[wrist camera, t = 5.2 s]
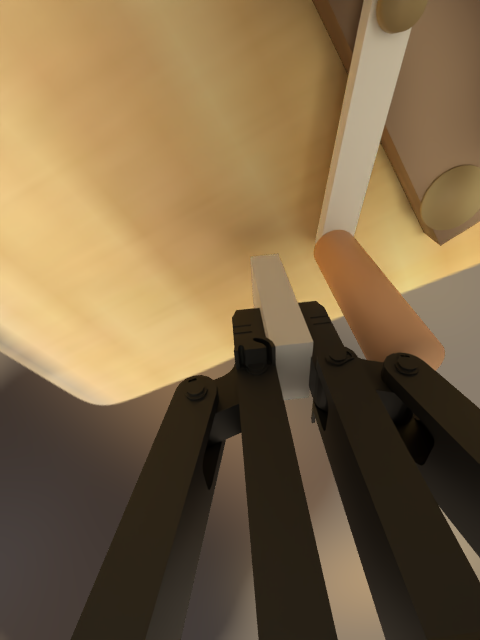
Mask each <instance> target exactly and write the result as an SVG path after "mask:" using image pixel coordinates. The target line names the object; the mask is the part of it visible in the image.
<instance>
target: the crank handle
mask: <svg viewBox="0 0 480 640" xmlns="http://www.w3.org/2000/svg"><path fill="white" fill-rule="evenodd" d="M377 2H378V0H364V1H363V6H362V11H361V16H360V21H359V26H358V31H357V36H356V41H355V46H354V51H353V56H352V61H351V66H350V71H349V76H348V81H347V86H346V90H345V95H344V100H343V105H342V110H341V115H340V120H339V125H338V130H337V135H336V140H335V145H334V150H333V155H332V160H331V165H330V170H329V175H328V180H327V185H326V190H325V195H324V200H323V205H322V210H321V215H320V220H319V225H318V230H317V235H316V240H315V243H316V245H315V248H314V258H315V260H316V262H317V264H318V266H319V268H320V270H321V272H322V274H323V276H324V278H325V280H326V282H327V284H328V285H329V287H330V289H331V291H332V293H333V295H334V297H335V299H336V301H337V303H338V305H339V307H340V309H341V311H342V313H343V315H344V317H345V318H346V320H347V322H348V324H349V326H350V328H351V330H352V332H353V334H354V336H355V338H356V340H357V342H358V344H359V345H360V347H361V349H362V351H363V353H364V355H365V357H366V359H367V360H369V361H377V362H384V360H385V359H386V357H387V356H389V355H390V354H392V353H399V352H401V353H409V354H412V355H414V356H417V357H419V358H420V359H422V360H423V361H425V362H426V363H427V364H428V365H429V366H430V367H432V368H433V369H434V370H435V371H436V370H437V369H438V368H439V366H440V365H441V364H442V362H443V360H444V356H445V350H444V347H443V346H442V345H441V343H440V342H439V341H438V340H437V338H436V337H435V336H434V335H433V333H432V332H431V331H430V330H429V329H428V327H427V326H426V325H425V324H424V322H423V321H422V320H421V319H420V317H419V316H418V315H417V314H416V313H415V311H414V310H413V309H412V308H411V306H410V305H409V304H408V303H407V302H406V300H405V299H404V298H403V297H402V296H401V294H400V293H399V292H398V291H397V289H396V288H395V287H394V286H393V284H392V283H391V282H390V281H389V279H388V278H387V277H386V276H385V275H384V273H383V272H382V271H381V270H380V268H379V267H378V266H377V265H376V264H375V262H374V261H373V260H372V259H371V257H370V256H369V255H368V254H367V253H366V251H365V250H364V249H363V248H362V246H361V245H360V244H359V243H358V242H357V240H356V239H355V238H354V234H355V230H356V226H357V223H358V219H359V216H360V212H361V208H362V205H363V201H364V198H365V194H366V190H367V187H368V183H369V180H370V176H371V172H372V169H373V165H374V162H375V158H376V154H377V151H378V147H379V144H380V140H381V136H382V133H383V129H384V126H385V122H386V118H387V115H388V111H389V108H390V104H391V100H392V97H393V93H394V90H395V86H396V82H397V79H398V75H399V72H400V68H401V64H402V61H403V57H404V54H405V50H406V46H407V43H408V39H409V36H410V32H411V28H412V27H411V28H410V29H408V30H406V31H403V32H399V33H393V34H390V33H386V32H384V31H383V30H382V29H381V28H380V26H379V24H378V22H377V17H376V7H377Z"/></svg>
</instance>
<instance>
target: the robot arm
mask: <svg viewBox="0 0 480 640" xmlns="http://www.w3.org/2000/svg"><path fill="white" fill-rule="evenodd" d="M250 258H251V273H252V289H253V304H254V309H244V310H236V312H235V314H234V315H233V317H232V324H233V335H234V346H235V348H234V355H235V365H234V367H233V369H232V370H231V371H230V372H229V373H228V374H226V375H225V376H223V377H220V378H218V379H215V380H212V379H211V378H209V377H207V376H203V375H198V376H192V377H189V378H187V379H185V380H184V381H182V382H181V383H180V384H179V386H178V387H177V389H176V391H175V393H174V395H173V398H172V400H171V402H170V405H169V407H168V410H167V412H166V414H165V417H164V419H163V421H162V424H161V426H160V429H159V431H158V433H157V436H156V438H155V440H154V443H153V445H152V448H151V450H150V453H149V455H148V457H147V460H146V462H145V464H144V467H143V469H142V472H141V474H140V476H139V478H138V481H137V483H136V486H135V488H134V490H133V493H132V495H131V497H130V500H129V502H128V505H127V507H126V509H125V512H124V514H123V517H122V519H121V521H120V524H119V526H118V528H117V531H116V533H115V536H114V538H113V541H112V543H111V545H110V548H109V550H108V552H107V555H106V557H105V560H104V562H103V564H102V566H101V569H100V571H99V574H98V576H97V578H96V581H95V583H94V585H93V588H92V590H91V593H90V595H89V597H88V600H87V602H86V604H85V607H84V609H83V612H82V614H81V616H80V619H79V621H78V623H77V626H76V628H75V631H74V633H73V636H72V638H71V640H181V636H182V631H183V627H184V623H185V618H186V613H187V609H188V605H189V600H190V596H191V591H192V587H193V583H194V578H195V574H196V569H197V565H198V561H199V556H200V552H201V547H202V543H203V538H204V534H205V530H206V525H207V521H208V516H209V512H210V507H211V503H212V499H213V494H214V489H215V486H216V481H217V477H218V472H219V468H220V463H221V459H222V455H223V450H224V445H225V441H226V439H228V438H230V437H232V436H234V435H237V434H239V433H242V445H243V456H244V469H245V481H246V493H247V505H248V517H249V529H250V541H251V553H252V565H253V576H254V589H255V600H256V613H257V624H258V637H259V640H338V639H337V634H336V630H335V625H334V621H333V617H332V612H331V608H330V603H329V599H328V594H327V590H326V586H325V581H324V577H323V573H322V568H321V563H320V559H319V554H318V550H317V546H316V541H315V537H314V532H313V528H312V524H311V519H310V514H309V510H308V506H307V502H306V497H305V492H304V488H303V484H302V479H301V475H300V470H299V466H298V461H297V457H296V453H295V448H294V443H293V439H292V435H291V430H290V426H289V422H288V417H287V412H286V408H285V404H284V400H290V399H299V398H308V397H309V390H310V391H311V394H312V397H313V406H312V417H311V419H312V423H314V422H315V418H316V421H317V424H318V427H319V431H320V434H321V437H322V440H323V443H324V446H325V450H326V453H327V456H328V459H329V462H330V465H331V469H332V471H333V475H334V478H335V481H336V484H337V487H338V490H339V494H340V497H341V500H342V503H343V506H344V510H345V512H346V516H347V519H348V522H349V525H350V529H351V532H352V535H353V538H354V541H355V544H356V547H357V551H358V554H359V557H360V560H361V563H362V566H363V570H364V572H365V576H366V579H367V582H368V585H369V588H370V592H371V595H372V598H373V601H374V604H375V607H376V611H377V614H378V617H379V620H380V623H381V626H382V629H383V632H384V636H385V639H386V640H480V582H479V580H478V578H477V576H476V574H475V572H474V571H473V569H472V567H471V565H470V563H469V561H468V559H467V558H466V556H465V554H464V552H463V550H462V548H461V547H460V545H459V543H458V541H457V539H456V537H455V535H454V534H453V532H452V530H451V528H450V526H449V524H448V523H447V521H446V519H445V517H444V515H443V514H442V512H441V510H440V508H441V509H442V510H443V512H444V513H445V514H446V515H447V517H448V518H449V519H450V521H451V522H452V523H453V524H454V526H455V527H456V528H457V529H458V531H459V532H460V533H461V534H462V536H463V537H464V538H465V540H466V541H467V542H468V543H469V545H470V546H471V547H472V548H473V550H474V551H475V552H476V553H477V555H478V556H479V557H480V409H479V408H478V407H477V406H476V405H475V404H474V403H472V402H471V401H470V400H469V399H468V398H467V397H465V396H464V395H463V394H462V393H461V392H460V391H458V390H457V389H456V388H455V387H454V386H453V385H451V384H450V383H449V382H448V381H447V380H446V379H444V378H443V377H442V376H441V375H440V374H439V373H437V372H436V371H435V370H434V369H433V368H432V367H430V366H429V365H428V364H427V363H426V362H425V361H423V360H422V359H420V358H419V357H417V356H414V355H412V354H409V353H401V352H399V353H392V354H390V355H389V356H387V357H386V359H385V360H384V362H377V361H369V360H364V359H360V358H358V357H357V355H356V354H355V353H354V352H353V351H352V350H350V349H349V348H347V347H344V345H343V344H342V341H341V340H340V338H339V336H338V334H337V332H336V330H335V328H334V326H333V324H332V323H331V320H330V318H329V317H328V314H327V312H326V310H325V308H324V307H323V306H322V305H320V304H319V303H318V302H316V301H312V302H302V303H298V302H297V300H296V297H295V295H294V292H293V289H292V287H291V284H290V282H289V279H288V277H287V274H286V272H285V269H284V267H283V264H282V262H281V259H280V257H279V254H271V255H261V256H251V257H250ZM438 505H439V506H438ZM439 507H440V508H439Z"/></svg>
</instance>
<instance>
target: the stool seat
mask: <svg viewBox="0 0 480 640" xmlns="http://www.w3.org/2000/svg"><path fill="white" fill-rule="evenodd" d="M312 1H313V3H314V5H315V7H316V9H317V11H318V13H319V15H320V17H321V19H322V21H323V23H324V25H325V28H326V30H327V32H328V34H329V36H330V38H331V40H332V42H333V44H334V46H335V48H336V50H337V53H338V55H339V57H340V59H341V61H342V63H343V65H344V67H345V69H346V71H347V73H348V75H349V71H350V66H351V61H352V56H353V51H354V46H355V41H356V36H357V31H358V26H359V21H360V16H361V11H362V6H363V1H364V0H312ZM376 17H377V22H378V24H379V26H380V28H381V29H382V30H383V31H384V32H386V33H390V34H393V33H399V32H403V31H406V30H408V29H410V28H411V27H412V28H411V32H410V36H409V39H408V43H407V46H406V50H405V54H404V57H403V61H402V64H401V68H400V72H399V75H398V79H397V82H396V86H395V90H394V93H393V97H392V100H391V104H390V108H389V111H388V115H387V118H386V122H385V126H384V129H383V133H382V136H381V140H380V142H381V144H382V146H383V148H384V150H385V152H386V154H387V156H388V158H389V161H390V163H391V165H392V167H393V169H394V171H395V173H396V175H397V177H398V179H399V181H400V183H401V186H402V188H403V190H404V192H405V194H406V196H407V198H408V200H409V202H410V204H411V206H412V208H413V210H414V213H415V215H416V217H417V219H418V221H419V223H420V225H421V227H422V229H423V231H424V233H425V234H426V235H428V236H429V237H430V238H432V239H433V240H434V241H435V242H437V243H438V244H439V245H440V246H441V245H442V244H444V243H445V242H447V241H449V240H450V239H452V238H454V237H455V236H457V235H458V234H460V233H462V232H463V231H465V230H467V229H468V228H470V227H471V226H473V225H475V224H476V223H478V222H480V0H378V2H377V7H376Z"/></svg>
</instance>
